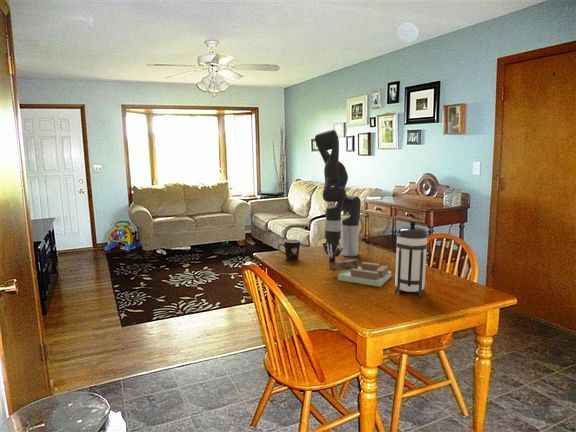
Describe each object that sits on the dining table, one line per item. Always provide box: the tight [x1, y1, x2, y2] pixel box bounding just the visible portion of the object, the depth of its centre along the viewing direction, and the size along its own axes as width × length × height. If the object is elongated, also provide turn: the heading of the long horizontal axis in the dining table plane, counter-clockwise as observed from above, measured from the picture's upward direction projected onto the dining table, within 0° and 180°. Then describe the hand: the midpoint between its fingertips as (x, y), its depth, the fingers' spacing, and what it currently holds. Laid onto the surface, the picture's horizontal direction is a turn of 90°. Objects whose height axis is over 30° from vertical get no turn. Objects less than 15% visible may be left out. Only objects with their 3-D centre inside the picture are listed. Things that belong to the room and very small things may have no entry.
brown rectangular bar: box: [328, 258, 359, 272], centre depth 207 cm, size 15×3×4 cm, turn 118°
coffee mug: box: [277, 238, 301, 262], centre depth 234 cm, size 12×9×10 cm
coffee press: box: [394, 220, 429, 297], centre depth 180 cm, size 17×16×30 cm
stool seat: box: [337, 261, 392, 287], centre depth 201 cm, size 17×20×6 cm
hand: (331, 264), depth 208 cm, fingers closed
